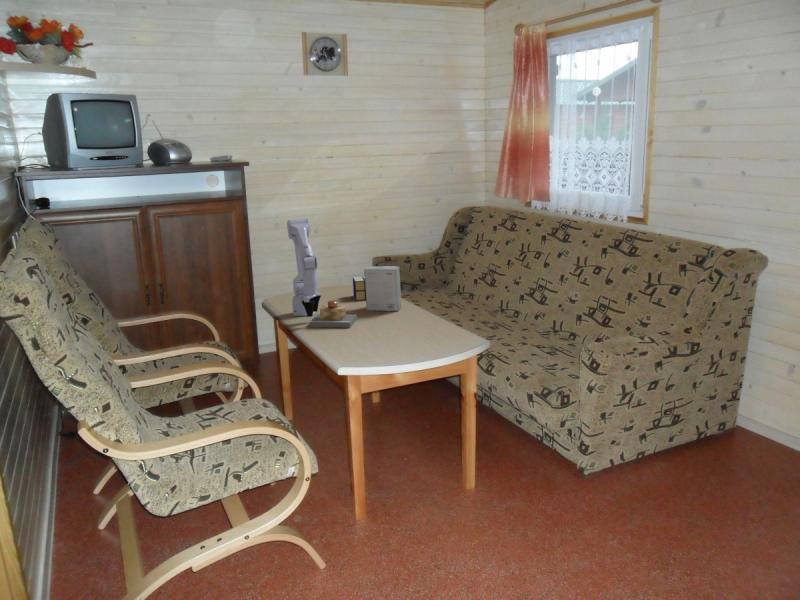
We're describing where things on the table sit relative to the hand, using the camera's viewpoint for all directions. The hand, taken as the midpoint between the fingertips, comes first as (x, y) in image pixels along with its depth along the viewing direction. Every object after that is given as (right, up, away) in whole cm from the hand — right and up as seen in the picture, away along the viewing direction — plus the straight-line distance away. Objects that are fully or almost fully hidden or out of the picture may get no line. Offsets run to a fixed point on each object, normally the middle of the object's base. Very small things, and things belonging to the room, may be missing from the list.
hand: (312, 313), depth 285 cm
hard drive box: (+31, +2, +21) cm, 37 cm away
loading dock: (+9, -4, 0) cm, 10 cm away
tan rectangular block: (+9, -2, -1) cm, 10 cm away
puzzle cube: (+21, +7, +43) cm, 48 cm away
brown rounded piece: (+9, +3, -2) cm, 10 cm away
